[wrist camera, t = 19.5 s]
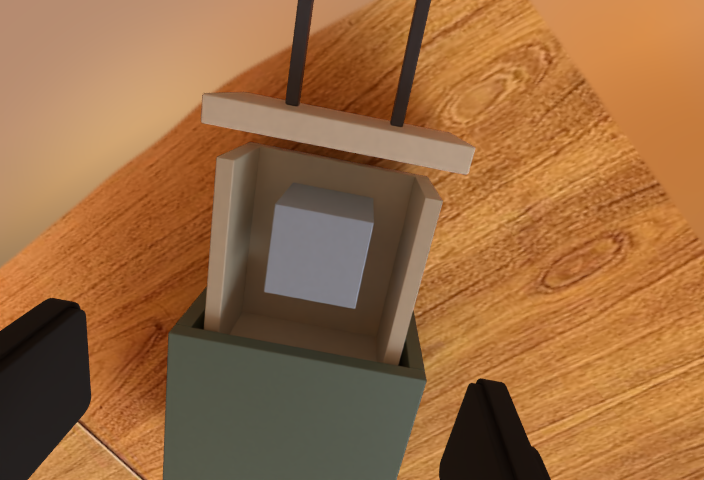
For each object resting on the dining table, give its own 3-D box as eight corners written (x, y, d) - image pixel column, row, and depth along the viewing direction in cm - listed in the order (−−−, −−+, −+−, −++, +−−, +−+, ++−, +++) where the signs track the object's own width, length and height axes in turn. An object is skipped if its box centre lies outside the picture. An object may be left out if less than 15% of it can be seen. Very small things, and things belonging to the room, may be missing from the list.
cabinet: (221, 267, 27) (167, 332, 20) (412, 303, 27) (427, 380, 20) (207, 439, 32) (159, 539, 25) (368, 468, 32) (367, 575, 25)
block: (292, 182, 23) (274, 203, 19) (373, 197, 23) (373, 222, 19) (282, 256, 24) (263, 292, 20) (358, 271, 24) (355, 309, 20)
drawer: (257, -67, 20) (214, -125, 14) (490, -18, 20) (534, -57, 15) (223, 309, 27) (185, 365, 22) (396, 341, 27) (402, 405, 22)
